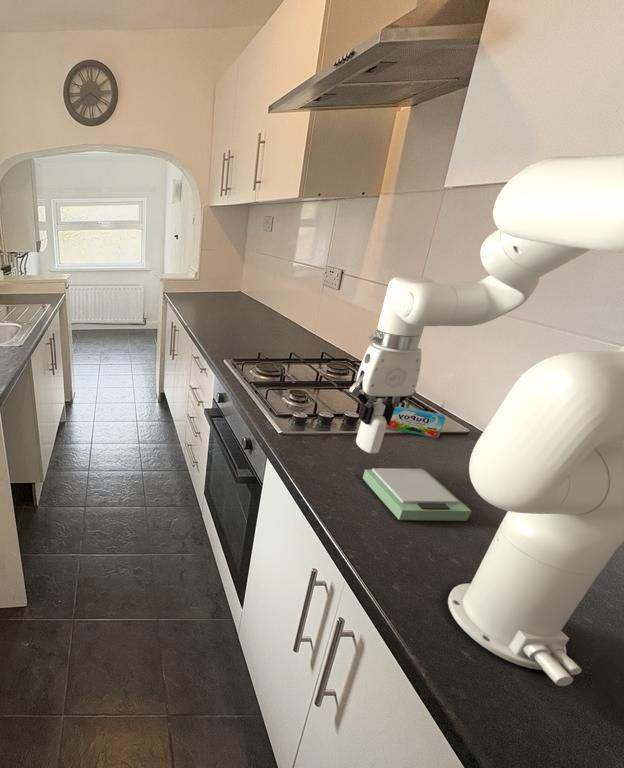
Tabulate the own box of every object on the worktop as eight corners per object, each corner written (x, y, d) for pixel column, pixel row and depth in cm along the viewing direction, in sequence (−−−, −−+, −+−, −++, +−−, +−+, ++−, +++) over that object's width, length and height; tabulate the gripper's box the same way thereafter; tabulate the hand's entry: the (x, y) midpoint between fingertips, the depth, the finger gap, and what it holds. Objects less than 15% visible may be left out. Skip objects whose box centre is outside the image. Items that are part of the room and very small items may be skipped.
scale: (467, 520, 79) (472, 508, 78) (398, 520, 79) (403, 507, 78) (421, 478, 91) (426, 467, 90) (362, 478, 91) (365, 467, 90)
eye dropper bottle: (377, 444, 93) (391, 396, 89) (378, 456, 89) (393, 406, 84) (355, 439, 95) (368, 392, 91) (355, 450, 91) (369, 401, 86)
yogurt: (383, 427, 111) (390, 407, 109) (383, 424, 113) (389, 404, 110) (438, 438, 106) (446, 417, 104) (437, 435, 108) (444, 414, 105)
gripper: (365, 345, 79) (343, 429, 86) (452, 346, 79) (423, 430, 86) (345, 334, 86) (327, 413, 93) (425, 335, 86) (401, 414, 93)
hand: (373, 420), depth 90 cm, fingers closed on eye dropper bottle, 3 cm apart
